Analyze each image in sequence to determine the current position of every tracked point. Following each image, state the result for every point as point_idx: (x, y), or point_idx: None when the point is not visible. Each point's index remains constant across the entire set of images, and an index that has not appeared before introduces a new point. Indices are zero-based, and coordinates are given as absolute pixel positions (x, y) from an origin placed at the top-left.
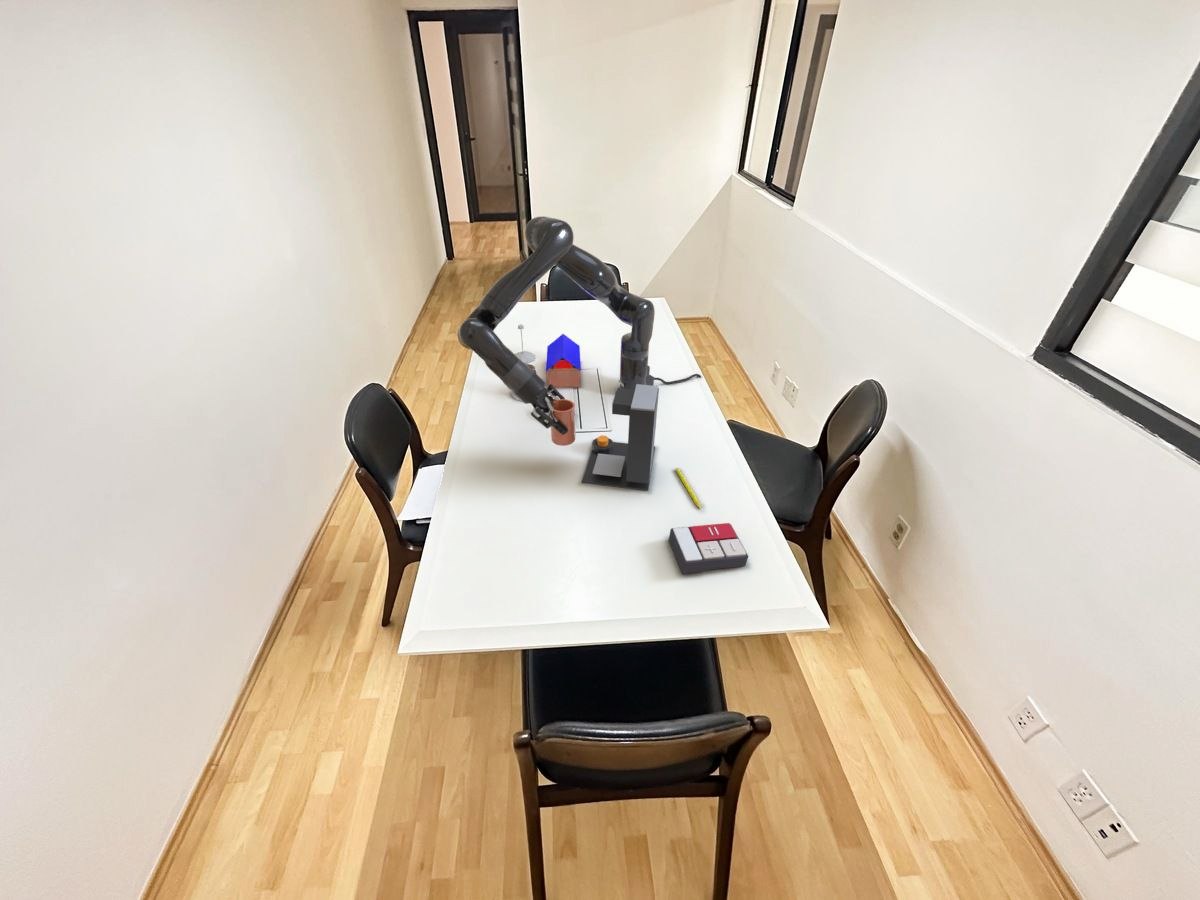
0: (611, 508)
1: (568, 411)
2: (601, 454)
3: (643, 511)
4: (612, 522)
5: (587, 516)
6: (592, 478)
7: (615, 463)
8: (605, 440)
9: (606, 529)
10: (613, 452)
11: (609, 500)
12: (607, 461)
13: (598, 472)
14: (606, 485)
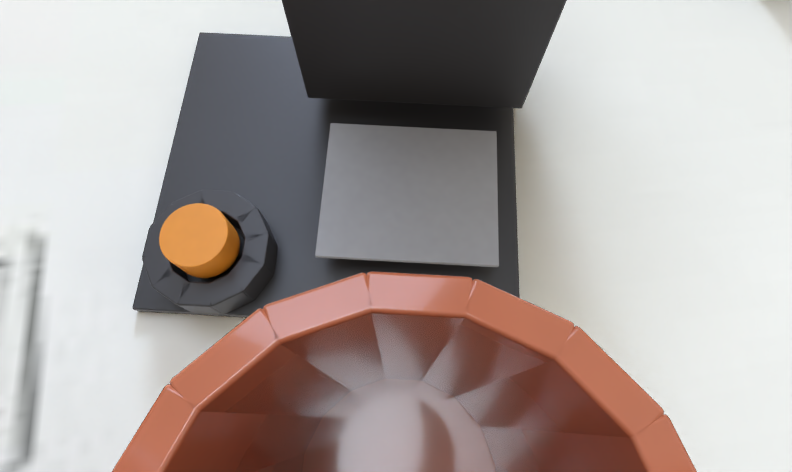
0: (656, 178)
1: (621, 376)
2: (324, 238)
3: (633, 64)
4: (738, 166)
5: (742, 270)
6: (484, 278)
7: (397, 161)
8: (215, 217)
9: (788, 184)
10: (253, 201)
11: (607, 190)
12: (385, 201)
13: (489, 235)
14: (514, 210)
